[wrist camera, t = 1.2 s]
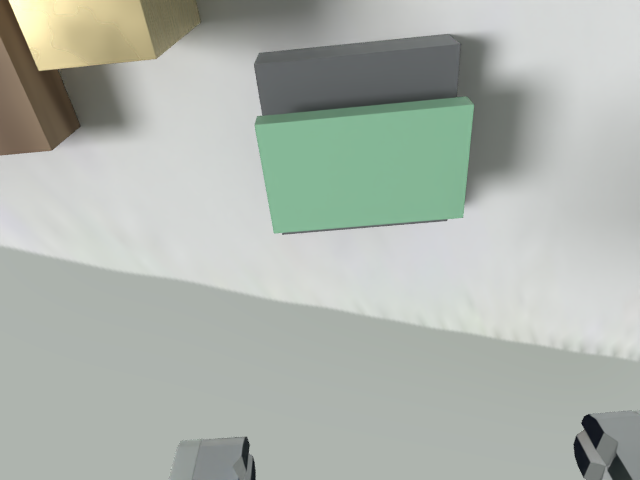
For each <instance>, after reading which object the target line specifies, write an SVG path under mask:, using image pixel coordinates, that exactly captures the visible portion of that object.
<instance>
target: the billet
mask: <svg viewBox="0 0 640 480" xmlns="http://www.w3.org/2000/svg"><path fill="white" fill-rule="evenodd" d="M9 2H10V4H11V7H12V9H13V11H14V14H15V16H16V19H17V21H18V23H19V26H20V28H21V30H22V33H23V35H24V37H25V40H26V42H27V44H28V47H29V49H30V51H31V54H32V56H33V59H34V61H35V63H36V66H37V68H38V70H39V71H42V70H52V69H62V68H72V67H82V66H92V65H101V64H111V63H121V62H131V61H141V60H151V59H157V58H158V57H159V56H160V55H162V54H163V53H164V52H165V51H167V50H168V49H169V48H170V47H171V46H173V45H174V44H175V43H176V42H178V41H179V40H180V39H181V38H183V37H184V36H185V35H186V34H187V33H189V32H190V31H191V30H192V29H194V28H195V27H196V26H197V25H198V24H200V23H201V21H200V17H199V12H198V8H197V3H196V0H9Z"/></svg>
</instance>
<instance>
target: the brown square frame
mask: <svg viewBox="0 0 640 480" xmlns="http://www.w3.org/2000/svg"><path fill="white" fill-rule="evenodd" d="M79 127H80V124H79V122H78V119H77V117H76V114H75V112H74V109H73V107H72V104H71V102H70V99H69V97H68V94H67V92H66V89H65V87H64V84H63V82H62V79H61V77H60V74H59V72H58V69H52V70H42V71H39V70H38V68H37V66H36V63H35V61H34V59H33V56H32V54H31V51H30V49H29V47H28V44H27V42H26V40H25V37H24V35H23V33H22V30H21V28H20V26H19V23H18V21H17V19H16V16H15V14H14V11H13V9H12V7H11V4H10V2H9V0H0V155H10V154H20V153H31V152H42V151H52V150H53V149H54V148H55V147H57V146H58V145H59V144H60V143H61V142H63V141H64V140H65V139H66V138H67V137H69V136H70V135H71V134H72V133H73V132H74V131H76V130H77V129H78V128H79Z"/></svg>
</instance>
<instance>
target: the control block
mask: <svg viewBox="0 0 640 480" xmlns="http://www.w3.org/2000/svg"><path fill="white" fill-rule="evenodd" d="M460 46H461V44H460V43H459V42H458V41H456V40H455V39H454V38H452V37H451V36H450V35H449V34H444V35H434V36H424V37H414V38H404V39H395V40H385V41H375V42H365V43H355V44H345V45H335V46H325V47H316V48H306V49H296V50H286V51H276V52H266V53H259V55H258V57H257V59H256V61H255V63H254V68H255V74H256V80H257V86H258V92H259V98H260V104H261V110H262V116H266V115H277V114H287V113H298V112H308V111H319V110H329V109H340V108H350V107H361V106H371V105H382V104H392V103H403V102H413V101H424V100H435V99H445V98H456V97H457V86H458V73H459V60H460ZM440 221H447V219H442V220H430V221H418V222H406V223H394V224H382V225H370V226H358V227H346V228H334V229H322V230H310V231H298V232H286V233H282V235H283V234H295V233H307V232H319V231H331V230H343V229H355V228H367V227H379V226H392V225H404V224H416V223H428V222H440Z"/></svg>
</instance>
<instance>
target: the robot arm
mask: <svg viewBox="0 0 640 480" xmlns="http://www.w3.org/2000/svg"><path fill="white" fill-rule="evenodd" d="M581 424H582V426H583V428H584V430H583V431H581V432H580V433H579V434H577V436H576V438H575V441H574V454H575V458H576V462H577V465H578V467H579V469H580V471H581V473H582V475H583V478H585V479H586V480H640V410H636V411H631V410H630V411H618V412H605V413H593V414H588V415H586V416H584V418H583V420H582V423H581ZM249 447H250V444H249V441H248V438H247V437H234V438H218V439H197V440H182V441H181V442H180V443H179V445H178V447H177V450H176V453H175V457H174V461H173V465H172V469H171V472H170V476H169V480H256V479H255V478H256V472H255V471H256V470H255V462H254V458H253V456H252V455H250V454H249Z"/></svg>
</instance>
